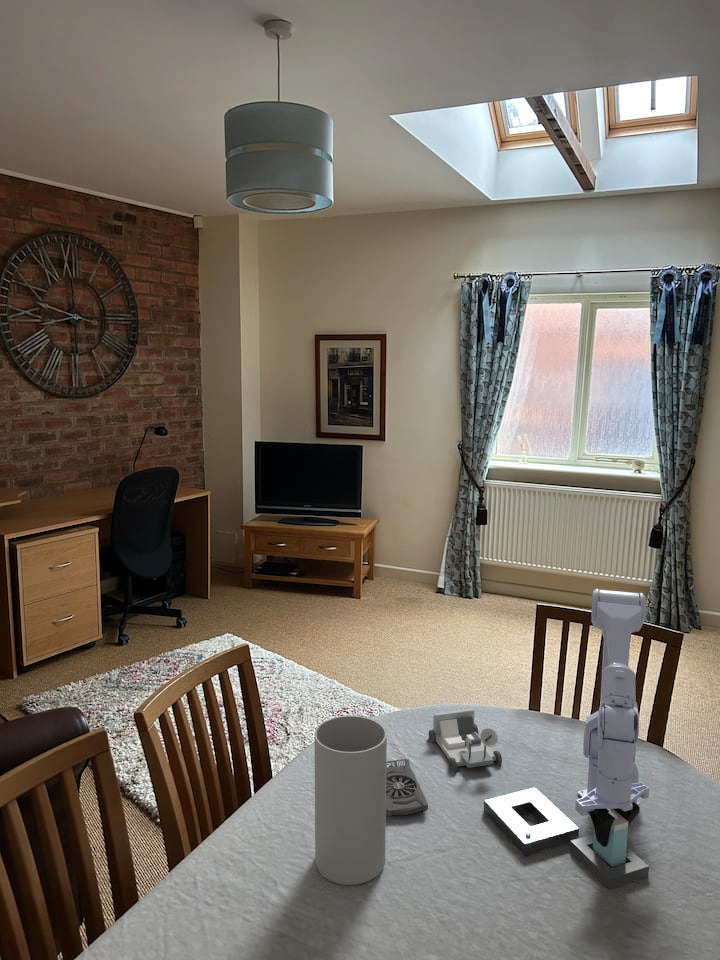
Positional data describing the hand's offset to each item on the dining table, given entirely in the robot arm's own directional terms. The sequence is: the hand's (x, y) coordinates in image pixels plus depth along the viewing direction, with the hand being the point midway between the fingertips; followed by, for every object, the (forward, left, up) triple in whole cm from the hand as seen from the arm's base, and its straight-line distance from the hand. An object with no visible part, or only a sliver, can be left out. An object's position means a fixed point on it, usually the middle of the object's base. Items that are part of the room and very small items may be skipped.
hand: (609, 840), depth 129 cm
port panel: (+7, -14, -4) cm, 16 cm away
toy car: (+6, -41, -5) cm, 41 cm away
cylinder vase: (+43, -17, -5) cm, 47 cm away
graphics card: (+28, -33, -5) cm, 43 cm away
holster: (0, 0, -4) cm, 4 cm away
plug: (0, 0, -3) cm, 3 cm away
